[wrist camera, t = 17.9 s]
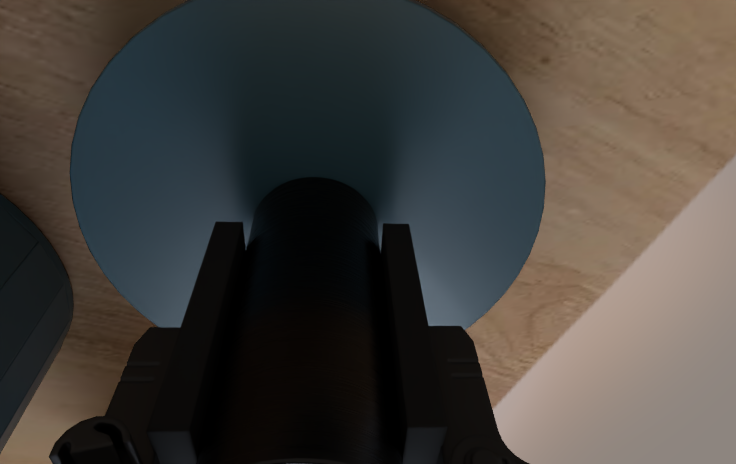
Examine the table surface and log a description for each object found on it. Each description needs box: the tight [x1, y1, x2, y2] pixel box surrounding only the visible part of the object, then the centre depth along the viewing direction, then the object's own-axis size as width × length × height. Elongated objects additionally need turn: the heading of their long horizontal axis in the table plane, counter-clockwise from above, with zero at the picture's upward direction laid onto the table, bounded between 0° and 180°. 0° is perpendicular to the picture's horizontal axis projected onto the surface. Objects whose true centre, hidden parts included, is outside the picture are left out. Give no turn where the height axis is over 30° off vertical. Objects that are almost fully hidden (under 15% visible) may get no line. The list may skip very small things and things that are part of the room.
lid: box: [70, 0, 546, 464], centre depth 13 cm, size 15×15×10 cm
